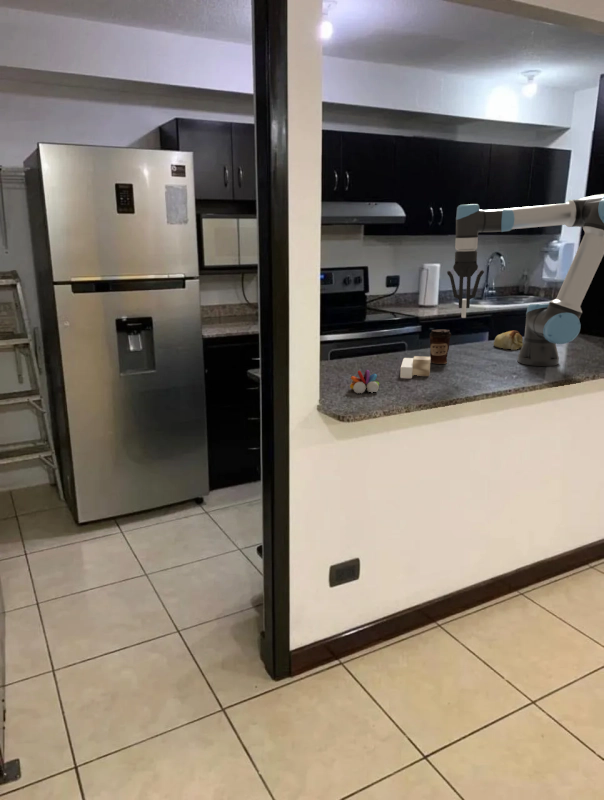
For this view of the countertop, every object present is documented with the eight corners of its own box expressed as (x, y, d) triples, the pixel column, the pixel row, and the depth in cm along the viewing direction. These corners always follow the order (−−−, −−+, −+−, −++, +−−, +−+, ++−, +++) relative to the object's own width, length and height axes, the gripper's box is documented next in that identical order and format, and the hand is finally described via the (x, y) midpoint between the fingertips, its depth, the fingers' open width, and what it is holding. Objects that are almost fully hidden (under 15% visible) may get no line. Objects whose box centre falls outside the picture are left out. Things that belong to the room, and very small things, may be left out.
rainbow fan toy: (347, 388, 199) (348, 367, 197) (376, 387, 200) (376, 366, 198) (352, 395, 191) (352, 373, 189) (381, 394, 192) (382, 372, 190)
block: (429, 372, 220) (430, 356, 218) (429, 376, 214) (430, 360, 213) (413, 371, 221) (414, 356, 220) (412, 375, 216) (413, 359, 214)
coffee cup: (449, 365, 230) (451, 332, 227) (428, 364, 232) (429, 331, 228) (449, 360, 239) (451, 328, 235) (428, 360, 240) (429, 328, 237)
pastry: (524, 351, 257) (526, 332, 255) (494, 350, 260) (495, 331, 258) (520, 345, 270) (522, 327, 268) (492, 344, 273) (493, 326, 271)
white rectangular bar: (414, 368, 226) (414, 358, 225) (411, 378, 211) (412, 367, 210) (403, 368, 227) (403, 357, 226) (400, 377, 212) (400, 367, 211)
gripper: (484, 249, 211) (481, 315, 217) (447, 250, 214) (445, 315, 220) (486, 250, 204) (482, 318, 210) (447, 251, 207) (445, 318, 213)
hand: (463, 317), depth 215 cm, fingers closed
